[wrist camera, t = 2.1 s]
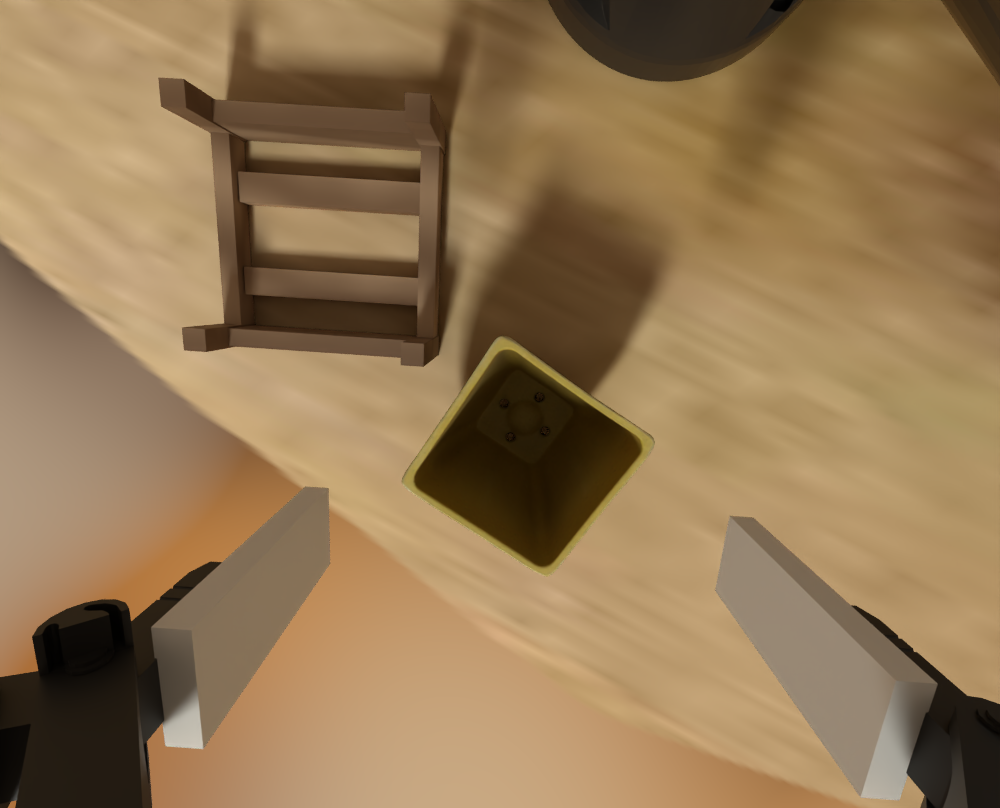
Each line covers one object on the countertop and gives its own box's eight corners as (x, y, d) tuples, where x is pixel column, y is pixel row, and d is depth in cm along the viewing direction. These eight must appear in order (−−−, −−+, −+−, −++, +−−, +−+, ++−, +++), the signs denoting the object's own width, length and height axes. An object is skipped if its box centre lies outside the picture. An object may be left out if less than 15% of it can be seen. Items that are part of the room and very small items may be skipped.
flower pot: (429, 431, 30) (395, 485, 22) (504, 320, 29) (500, 331, 20) (538, 502, 31) (548, 582, 23) (617, 399, 30) (661, 442, 21)
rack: (223, 117, 26) (158, 77, 22) (445, 131, 26) (430, 93, 21) (238, 341, 29) (184, 350, 24) (438, 354, 29) (423, 366, 24)
